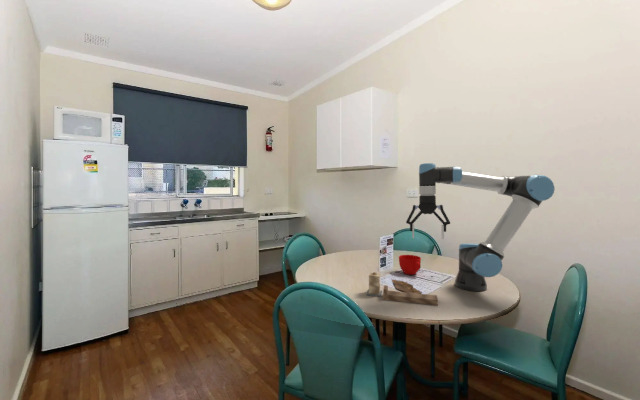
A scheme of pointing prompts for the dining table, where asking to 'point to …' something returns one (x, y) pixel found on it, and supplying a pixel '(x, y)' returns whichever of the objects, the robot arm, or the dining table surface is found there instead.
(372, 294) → the mat
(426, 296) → the plank
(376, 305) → the dining table surface
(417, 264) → the ceramic cup
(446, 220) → the robot arm
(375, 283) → the cream tall block
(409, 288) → the wooden fragment
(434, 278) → the dining table surface
